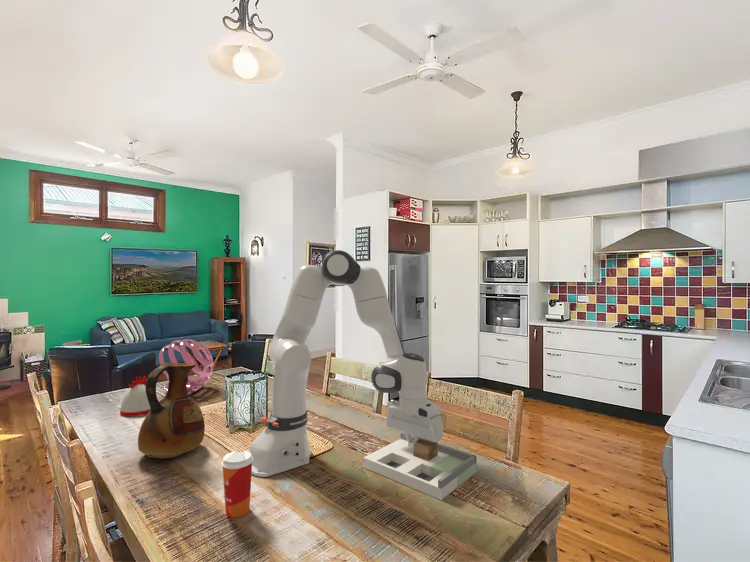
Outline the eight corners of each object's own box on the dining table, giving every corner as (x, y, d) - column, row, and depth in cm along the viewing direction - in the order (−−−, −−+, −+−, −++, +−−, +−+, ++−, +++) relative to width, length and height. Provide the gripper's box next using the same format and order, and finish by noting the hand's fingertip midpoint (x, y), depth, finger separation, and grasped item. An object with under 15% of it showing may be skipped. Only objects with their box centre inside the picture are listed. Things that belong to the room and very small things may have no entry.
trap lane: (441, 500, 107) (441, 481, 107) (363, 467, 125) (363, 451, 125) (476, 472, 122) (476, 455, 122) (402, 446, 140) (402, 432, 140)
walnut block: (428, 461, 122) (428, 447, 122) (413, 455, 126) (413, 443, 126) (437, 454, 127) (437, 442, 127) (423, 450, 130) (423, 437, 130)
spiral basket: (131, 357, 197) (177, 325, 197) (168, 359, 224) (209, 332, 224) (153, 407, 189) (201, 375, 189) (189, 403, 216) (231, 375, 216)
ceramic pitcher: (217, 445, 141) (216, 360, 140) (165, 470, 123) (165, 372, 122) (178, 436, 149) (177, 355, 149) (124, 458, 131) (123, 366, 130)
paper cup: (226, 503, 105) (226, 450, 105) (256, 502, 106) (256, 449, 105) (217, 521, 97) (216, 464, 97) (249, 520, 98) (249, 462, 98)
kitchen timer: (163, 409, 179) (162, 375, 179) (130, 418, 168) (130, 382, 168) (146, 403, 187) (146, 371, 187) (114, 412, 175) (113, 378, 175)
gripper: (381, 400, 134) (382, 442, 134) (434, 414, 120) (434, 460, 121) (393, 396, 139) (393, 436, 139) (445, 409, 125) (445, 453, 125)
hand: (413, 447), depth 130 cm, fingers closed
